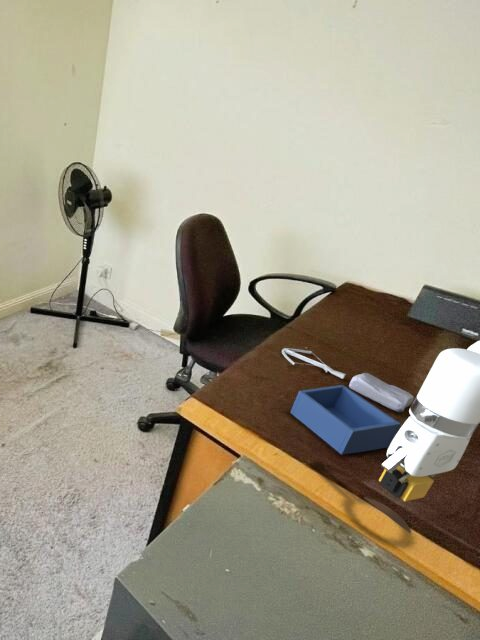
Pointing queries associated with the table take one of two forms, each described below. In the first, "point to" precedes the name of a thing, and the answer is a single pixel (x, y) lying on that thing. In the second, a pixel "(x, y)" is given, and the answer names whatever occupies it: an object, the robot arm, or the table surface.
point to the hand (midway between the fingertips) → (401, 487)
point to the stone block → (381, 392)
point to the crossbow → (309, 360)
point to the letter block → (414, 486)
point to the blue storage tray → (344, 419)
